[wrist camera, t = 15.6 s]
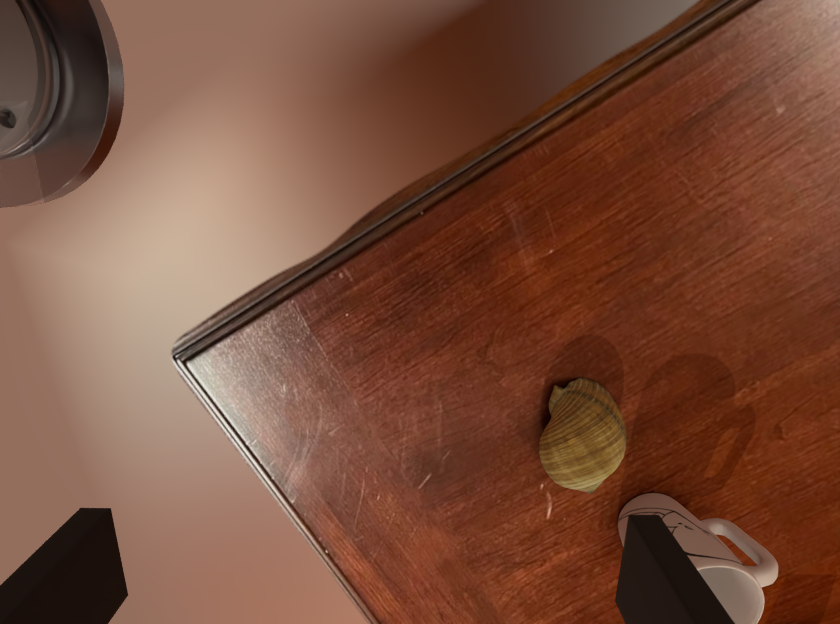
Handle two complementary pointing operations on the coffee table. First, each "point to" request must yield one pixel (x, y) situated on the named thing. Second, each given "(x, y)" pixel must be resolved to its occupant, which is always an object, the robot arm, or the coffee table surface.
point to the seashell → (582, 436)
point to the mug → (713, 554)
